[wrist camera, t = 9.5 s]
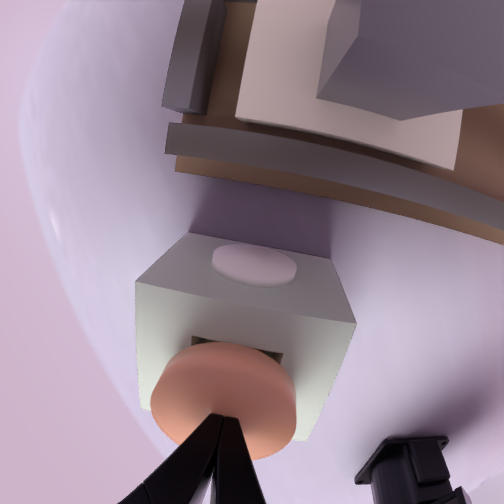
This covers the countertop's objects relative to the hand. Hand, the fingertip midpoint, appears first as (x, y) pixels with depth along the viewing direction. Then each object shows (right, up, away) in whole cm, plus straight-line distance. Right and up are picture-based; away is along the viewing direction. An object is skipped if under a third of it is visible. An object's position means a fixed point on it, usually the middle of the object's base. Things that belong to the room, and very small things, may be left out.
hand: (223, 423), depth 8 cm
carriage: (+5, +12, +2) cm, 13 cm away
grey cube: (+1, +3, +8) cm, 8 cm away
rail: (+10, +11, +4) cm, 16 cm away
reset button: (0, +1, +4) cm, 4 cm away
